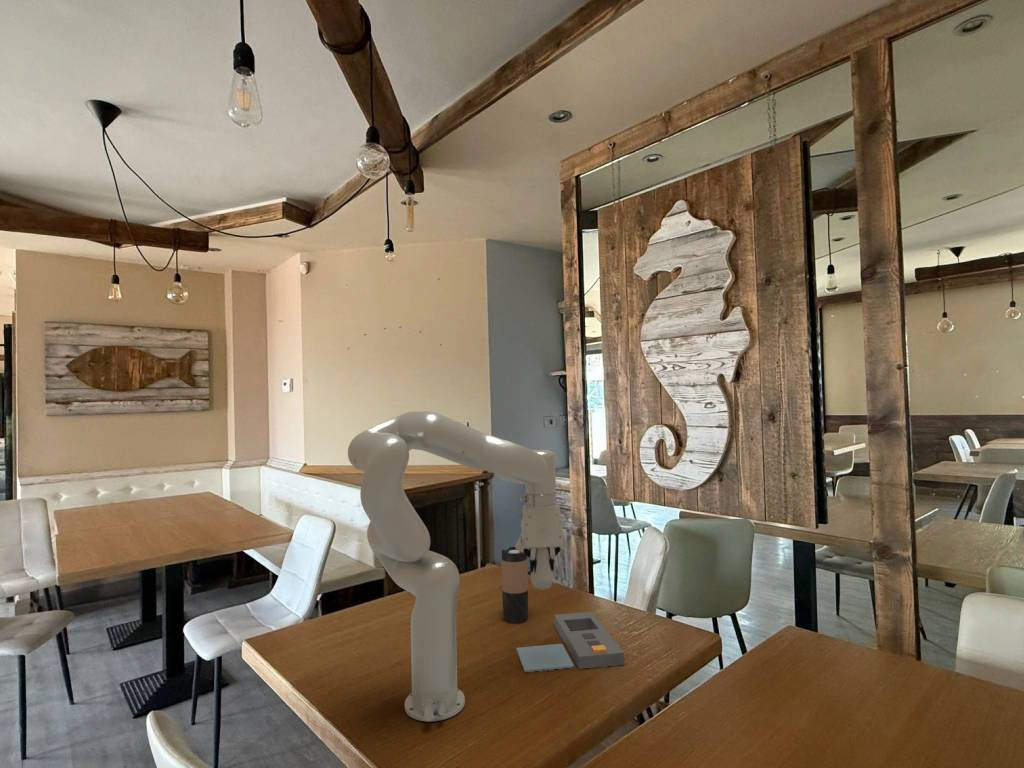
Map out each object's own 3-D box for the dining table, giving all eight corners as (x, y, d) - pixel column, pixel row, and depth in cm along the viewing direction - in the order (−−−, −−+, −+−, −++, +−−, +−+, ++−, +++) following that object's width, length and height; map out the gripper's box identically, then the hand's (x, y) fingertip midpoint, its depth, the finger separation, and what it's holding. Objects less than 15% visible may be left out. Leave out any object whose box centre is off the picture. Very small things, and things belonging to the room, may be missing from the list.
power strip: (623, 665, 133) (623, 649, 133) (579, 669, 131) (579, 653, 131) (592, 622, 159) (591, 608, 159) (554, 625, 157) (554, 612, 157)
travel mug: (528, 624, 158) (527, 553, 159) (502, 624, 159) (500, 553, 159) (528, 613, 166) (527, 546, 167) (503, 613, 166) (501, 546, 167)
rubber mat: (574, 668, 132) (574, 665, 132) (524, 672, 130) (524, 670, 130) (562, 646, 144) (562, 643, 144) (516, 650, 142) (516, 647, 142)
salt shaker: (552, 591, 134) (551, 537, 135) (528, 590, 135) (528, 536, 136) (555, 583, 140) (554, 531, 140) (532, 582, 141) (532, 530, 141)
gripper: (510, 504, 133) (511, 581, 133) (576, 501, 136) (578, 577, 135) (506, 498, 141) (507, 572, 140) (568, 496, 143) (570, 568, 143)
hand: (542, 573), depth 138 cm, fingers closed on salt shaker, 3 cm apart
